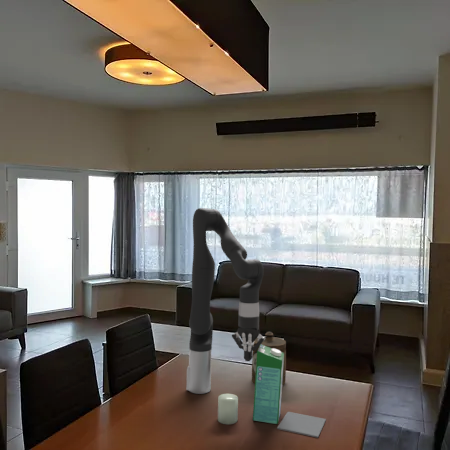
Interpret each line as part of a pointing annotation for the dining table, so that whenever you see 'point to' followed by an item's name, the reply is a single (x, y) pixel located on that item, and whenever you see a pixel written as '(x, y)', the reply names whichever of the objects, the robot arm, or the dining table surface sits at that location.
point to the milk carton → (268, 385)
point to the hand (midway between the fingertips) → (248, 360)
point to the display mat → (302, 424)
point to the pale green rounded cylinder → (227, 408)
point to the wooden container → (271, 343)
